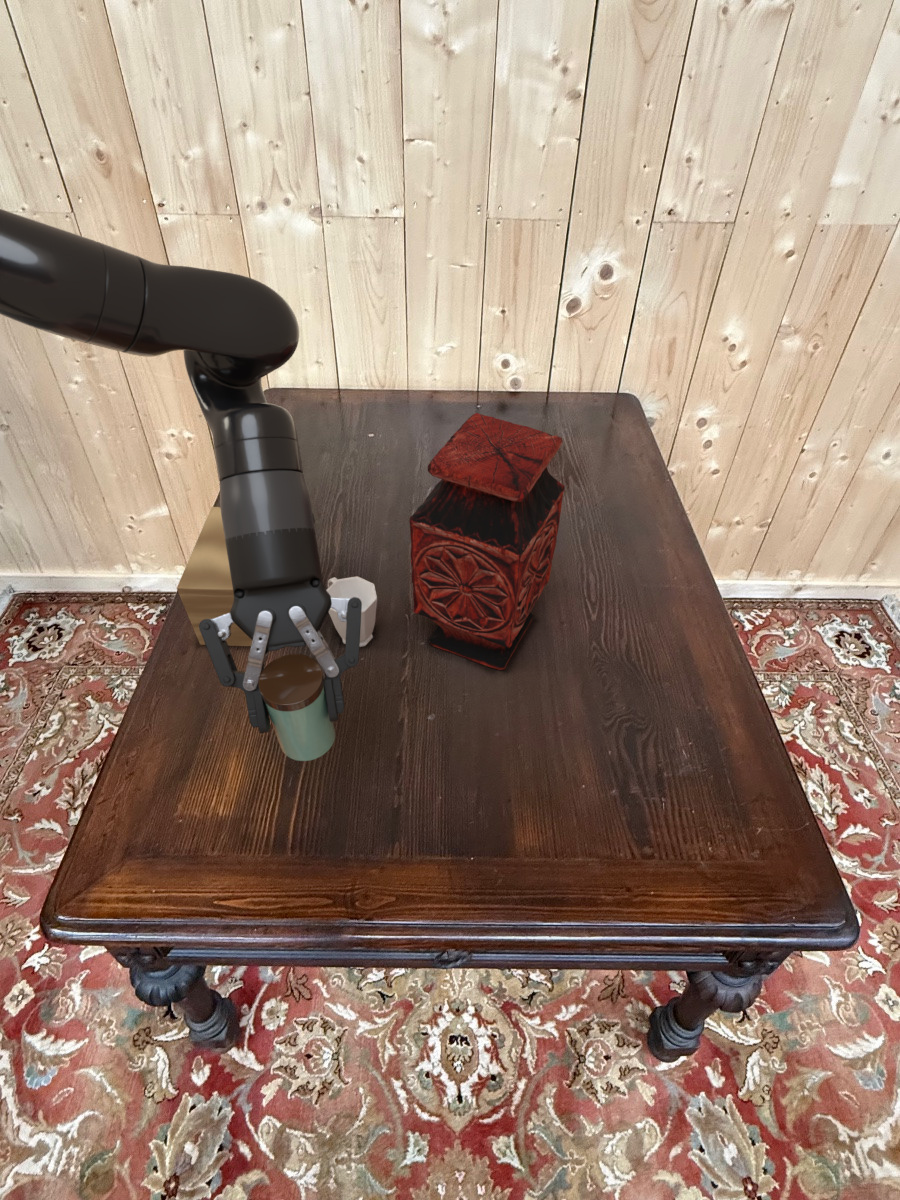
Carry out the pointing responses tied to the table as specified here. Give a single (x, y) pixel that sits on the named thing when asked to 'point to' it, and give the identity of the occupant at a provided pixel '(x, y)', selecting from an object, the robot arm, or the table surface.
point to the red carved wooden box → (486, 537)
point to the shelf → (210, 580)
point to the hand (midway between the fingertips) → (300, 724)
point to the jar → (297, 706)
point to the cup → (367, 597)
